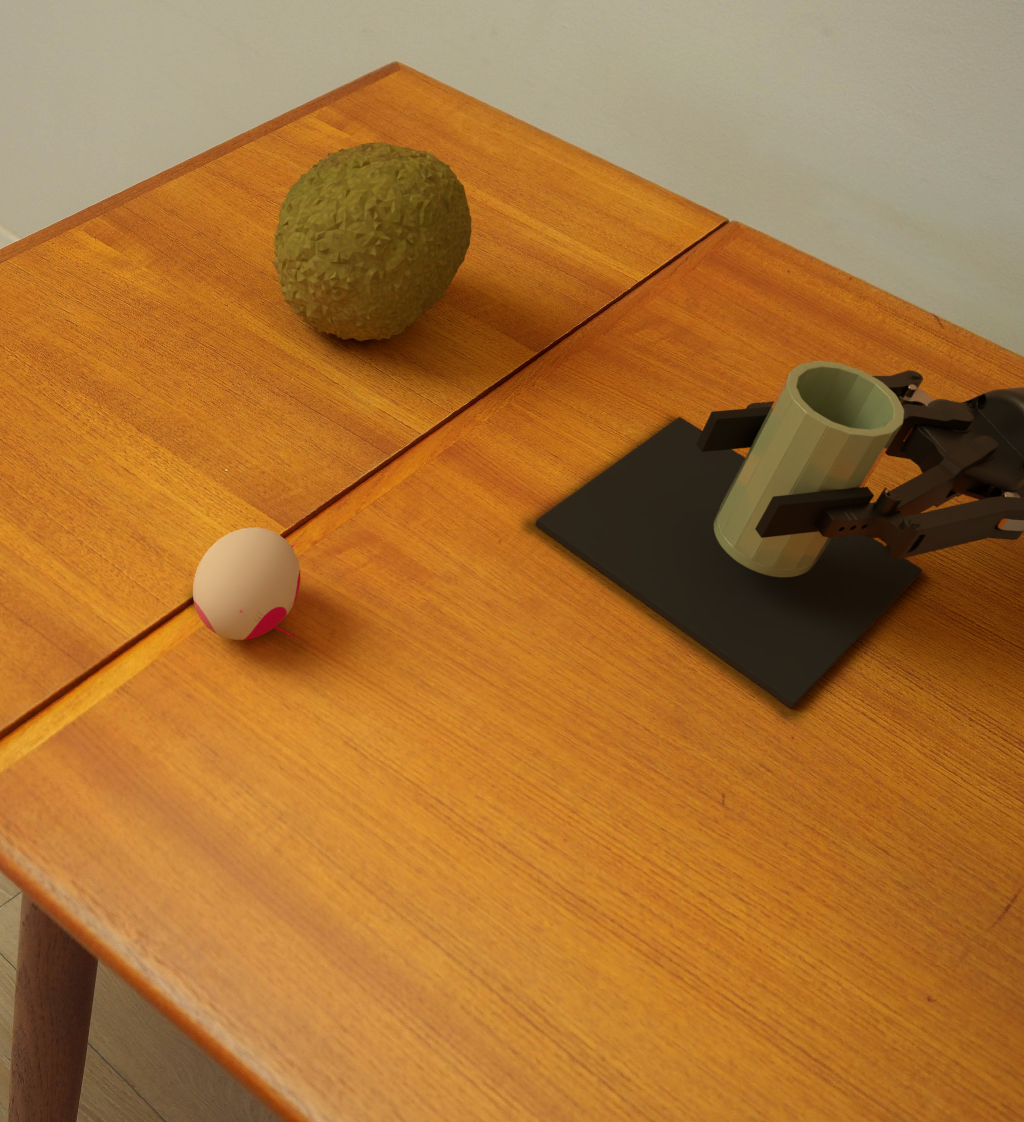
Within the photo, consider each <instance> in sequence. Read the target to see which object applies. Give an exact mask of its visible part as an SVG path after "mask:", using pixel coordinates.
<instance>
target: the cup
mask: <svg viewBox="0 0 1024 1122" xmlns="http://www.w3.org/2000/svg"><path fill="white" fill-rule="evenodd" d="M873 376H874V375H871V374H869V373H868V372H865V371H864V370H862V369H859V368H856V367H853V366H850V365H847V364H844V363H841V362H836V361H835V362H834V361H825V360H814V361H810V362H803V363H800V364H798V365H796V367H794V368H793V369H792V370H790V371H789V372H788V374H787V376H786V378H785V380H784V382H783V384H782V386H781V388H780V389H779V392H778V393H777V395H776V398H775V399H774V400H773V401H774V403H773V405H772V407H771V409H770V411H769V413H768V415H767V417H766V419H765V421H764V422H763V424H762V426H761V428H760V430H759V432H758V434H757V436H756V438H755V440H754V442H753V444H752V446H751V448H749V450H748V452H747V453H746V455H745V456H744V457H745V459H744V461H743V463H742V465H741V467H740V469H739V471H738V473H737V475H736V477H735V479H734V481H733V483H732V484H731V486H730V488H729V490H728V492H727V494H726V496H725V498H724V500H723V502H722V504H721V506H720V509H719V511H718V513H717V515H716V517H715V520H714V532H715V536H716V538H717V540H718V542H719V544H720V545H721V547H722V548H723V549H724V550H725V551H726V552H727V554H728V555H730V556H731V557H732V558H733V559H734V560H736V561H737V562H738V563H740V564H742V565H743V566H745V567H747V568H749V569H751V570H753V571H756V572H758V573H761V574H764V575H768V576H773V577H794V576H799V575H802V574H804V573H806V572H807V571H809V570H810V569H811V568H812V567H813V566H814V565H815V563H816V561H817V560H818V558H819V557H820V556H821V555H822V553H823V552H824V550H825V548H826V547H827V545H828V544H829V542H830V540H831V539H832V538H829V537H823V536H822V535H821V533H820V532H819V531H818V532H809V533H801V534H792V535H783V536H774V537H765V538H761V537H760V535H759V534H758V533H757V531H756V530H755V528H756V526H757V525H758V523H759V521H760V519H761V517H762V516H763V514H764V512H765V510H766V508H767V507H768V505H769V503H770V501H771V499H772V498H773V496H783V495H792V494H802V493H811V492H821V491H831V490H840V489H850V488H859V487H866V486H865V485H866V484H867V482H869V479H870V477H871V476H872V475H873V473H874V471H875V469H876V468H877V466H878V464H879V463H880V461H881V460H882V458H883V457H884V455H885V452H886V450H887V449H888V447H889V445H890V444H891V442H892V440H893V439H894V437H895V436H896V434H897V432H898V431H899V429H900V428H901V426H902V424H903V418H904V409H903V407H902V405H901V403H900V401H899V399H898V397H897V396H896V394H895V393H893V392H892V391H891V390H890V389H889V388H888V387H887V386H886V385H885V384H884V383H883V382H881V381H880V380H878V379H876V378H874V377H873Z"/></svg>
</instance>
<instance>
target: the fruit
mask: <svg viewBox="0 0 1024 1122" xmlns="http://www.w3.org/2000/svg"><path fill="white" fill-rule="evenodd" d="M280 208H281V210H280V211H279V213H278V215H277V216H278V223H277V225H276V230H275V233H274V234H273V235H274V240H273V246H274V248H275V249H274V250H273V253H274V255H275V258H274V259H273V260H272V261H271V262H272V265H273V266H274V268H275V269H276V272H277V275H276V278H277V280H278V281H279V283H278V284H280V291H281V294H282V296H283V301H284V302H285V303H286V304H288V305H289V306H290V308H291V310H292V312H293V314H295V315H297V316H299V317H300V318H301V322H302V323H308V324H310V326H312V327H313V328H316V329H317V331H318V333H326V334H327V335H329V334H332V335H335V336H336V337H337V338H338V339H342V340H343V341H345V340H350V339H355V340H356V341H358V342H363V341H368V340H374V339H375V340H377V341H382V340H383V339H386V340H390V339H391V338H392V336H397V335H401V334H402V333H403V332H405V330H406V329H407V328H410V327H411V326H412V325H413V324H414V323H415V322H416V321H417V320H418V319H421V317H422V316H424V315H425V313H426V312H428V311H429V310H431V309H433V307H434V306H435V305H436V304H438V303H439V302H441V301H442V300H443V299H444V298H445V297H446V292H447V290H448V288H449V286H451V284H452V281H453V279H454V278H455V276H456V274H457V273H458V271H459V268H460V267H461V266H462V264H463V263H464V261H465V259H466V255H467V253H468V250H469V247H470V245H471V237H472V216H471V210H470V207H469V204H468V199H467V194H466V191H465V186H464V184H463V183H462V182H461V180H460V179H458V176H457V174H456V173H455V172H454V170H452V169H451V165H450V164H448V163H446V162H445V161H443V160H440V159H439V158H438V157H437V156H435V154H434V153H433V152H428V151H427V150H415V149H413V148H410V147H406V146H398V145H394V144H391V143H387V142H365V143H361V144H359V145H355V146H351V147H349V148H341V149H339V150H338V151H336V152H328V153H327V156H326V157H325V158H323V159H319V160H318V161H317V163H316V164H315V163H314V164H313V165H312V167H311V168H309V169H308V171H307V173H302V174H301V173H300V177H299V178H298V179H297V180H296V182H294V183H293V184H291V186H290V187H289V191H287V194H286V195H285V200H283V201H282V202H281V205H280Z"/></svg>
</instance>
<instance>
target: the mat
mask: <svg viewBox="0 0 1024 1122" xmlns="http://www.w3.org/2000/svg"><path fill="white" fill-rule="evenodd" d="M702 431H703V429H700V428H699V427H697V426H695V425H694V424H693V423H691V422H689V421H687V420H686V419H685V418H683V417H681V416H679V417H677V418H676V419H674V420H673V421H672V422H670V423H668V424H667V425H666V426H665V427H663V428H662V429H660V430H658V431H657V432H656V433H655V434H654V435H652V436H651V437H650V438H648V439H647V440H645V441H643V442H642V443H641V444H639V445H638V446H637V447H635V448H634V449H632V451H630V452H628V453H627V454H626V455H624V456H623V457H622V458H620V459H619V460H617V461H616V462H615V463H613V464H612V465H611V466H609V467H608V468H607V469H605V470H603V471H602V472H600V473H599V474H598V475H596V476H595V477H593V478H592V479H591V480H590V481H588V482H586V483H585V484H584V485H583V486H581V487H580V488H579V489H577V490H576V491H574V492H573V493H572V494H571V495H569V496H567V497H566V498H565V499H563V500H562V501H560V502H559V503H558V504H557V505H555V506H554V507H552V508H551V509H549V510H547V512H545V513H544V514H543V515H541V516H540V517H538V518H537V519H536V521H535V523H534V525H535V527H537V528H538V529H540V531H542V532H544V533H545V534H547V535H548V536H549V537H551V538H552V539H554V540H555V541H557V543H559V544H561V545H562V546H563V547H565V548H566V549H567V550H569V551H570V552H571V553H573V554H575V555H576V556H577V557H579V558H580V559H581V560H583V561H584V562H586V563H587V564H588V565H590V566H591V567H592V568H594V569H595V570H597V571H598V572H600V573H601V574H603V575H604V576H605V577H606V578H608V579H609V580H611V581H612V582H614V583H615V584H616V585H618V587H621V588H622V589H623V590H624V591H626V592H627V593H629V594H630V595H632V596H633V597H635V598H636V599H637V600H639V601H640V602H641V603H643V604H644V605H646V606H647V607H648V608H649V609H651V610H653V611H654V612H655V613H656V614H658V615H660V616H661V617H662V618H663V619H665V620H667V622H669V623H671V624H672V625H673V626H675V627H676V628H678V629H679V630H680V631H682V632H683V633H685V634H686V635H687V636H689V637H690V638H692V639H693V640H695V641H696V642H697V643H699V644H700V645H701V646H703V647H704V648H705V649H707V650H708V651H710V652H711V653H712V654H714V655H715V656H717V657H718V658H720V659H721V660H722V661H724V662H725V663H727V664H728V665H729V666H731V667H732V668H734V669H735V670H736V671H737V672H739V673H741V675H743V676H745V677H746V678H748V679H749V680H750V681H751V682H753V683H755V684H756V685H757V686H759V687H760V688H761V689H763V690H764V691H765V692H766V693H768V694H770V695H771V696H772V697H774V698H776V699H777V700H778V701H779V702H781V703H782V704H784V705H785V706H787V707H788V708H789V709H793V708H794V707H795V706H796V705H797V704H798V703H799V702H800V700H802V699H803V698H804V696H805V695H806V694H808V692H809V691H810V690H811V689H812V688H813V687H814V686H815V685H816V684H817V683H818V682H819V681H820V680H821V679H822V677H824V676H825V674H826V673H827V672H828V671H830V669H831V668H832V667H833V666H834V665H835V664H836V663H837V662H838V661H839V660H840V659H841V658H842V656H844V655H845V653H846V652H847V651H848V650H849V649H851V647H852V646H853V645H855V643H856V642H857V641H858V640H859V639H860V638H861V637H862V636H863V635H864V634H865V632H866V631H867V630H868V629H869V628H870V627H871V626H873V624H874V623H875V622H876V621H877V620H878V619H879V618H880V617H881V616H882V615H883V614H884V613H885V612H886V611H887V609H889V607H891V605H892V604H893V603H894V602H896V600H897V599H898V598H899V597H900V596H901V594H903V593H904V592H905V591H906V589H907V588H908V587H910V585H911V584H912V583H913V582H914V581H915V580H916V579H917V578H918V577H919V576H920V575H921V573H922V572H923V569H922V568H921V567H919V566H918V565H917V564H915V563H913V562H911V561H910V560H908V559H907V558H902V559H897V558H893V557H891V556H890V555H889V554H887V552H886V551H885V547H886V545H885V544H883V543H881V542H880V541H878V540H876V538H869V537H867V536H865V535H863V534H862V535H854V536H845V537H836V538H832V539H831V540H830V542H829V544H828V545H827V547H826V548H825V550H824V552H823V553H822V555H821V556H820V557H819V558H818V560H817V561H816V563H815V565H814V566H813V567H812V568H811V569H810V570H809V571H807V572H806V573H804V574H802V575H799V576H794V577H773V576H768V575H764V574H761V573H758V572H756V571H753V570H751V569H749V568H747V567H745V566H743V565H742V564H740V563H738V562H737V561H736V560H734V559H733V558H732V557H731V556H730V555H728V554H727V552H726V551H725V550H724V549H723V548H722V547H721V545H720V544H719V542H718V540H717V538H716V536H715V532H714V520H715V517H716V515H717V513H718V511H719V509H720V506H721V504H722V502H723V500H724V498H725V496H726V494H727V492H728V490H729V488H730V486H731V484H732V483H733V481H734V479H735V477H736V475H737V473H738V471H739V469H740V467H741V465H742V463H743V461H744V459H745V457H746V456H743V455H741V454H740V453H738V452H737V451H735V449H729V450H718V451H707V452H701V450H700V449H699V448H698V446H697V445H696V443H697V441H698V439H699V437H700V435H701V433H702Z"/></svg>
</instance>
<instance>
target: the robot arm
mask: <svg viewBox="0 0 1024 1122" xmlns="http://www.w3.org/2000/svg"><path fill="white" fill-rule="evenodd" d="M872 376H873V377H874V378H876V379H878V380H880V381H881V382H883V383H884V384H885V385H886V386H887V387H888V388H889V389H890V390H891V391H892V392H893V393H895V394H896V396H897V397H898V399H899V401H900V403H901V405H902V407H903V409H904V418H903V424H902V426H901V428H900V429H899V431H898V432H897V434H896V436H895V437H894V439H893V440H892V442H891V444H890V445H889V447H888V449H887V450H886V452H885V453H884V455H886V456H889V457H893V458H900V459H906V460H911V462H913V463H914V464H915V465H917V466H918V468H919V469H920V471H921V473H920V474H919V475H916V476H915V477H913V478H911V479H909V480H907V481H905V482H904V483H902V484H900V485H898V486H896V487H894V488H892V489H891V490H890V489H889V490H888V491H887V489H888V488H887V487H884V488H883V490H882V491H881V492H880V494H879V496H878V497H877V499H876V500H875V501H874V502H873V501H872V500H873V498H874V497H875V494H874V493H873V492H872V491H871V489H870V488H869V486H864V487H859V488H850V489H840V490H831V491H821V492H811V493H802V494H792V495H783V496H773V498H772V499H771V501H770V503H769V505H768V507H767V508H766V510H765V512H764V514H763V516H762V517H761V519H760V521H759V523H758V525H757V526H756V528H755V530H756V531H757V533H758V534H759V535H760V537H761V538H765V537H774V536H783V535H792V534H801V533H809V532H818V531H819V532H820V533H821V535H822V536H823V537H829V538H836V537H845V536H854V535H862V534H863V535H865V536H867V537H869V538H873V539H879V540H880V541H881V542H883V543H884V544H885V546H886V547H885V551H886V552H887V554H889V555H890V556H891V557H893V558H897V559H902V558H905V559H907V558H910V557H911V558H912V557H915V556H918V555H922V554H927V553H931V552H936V551H939V550H944V549H948V548H952V547H956V546H960V545H964V544H968V543H973V542H977V541H982V540H985V539H986V540H987V539H994V540H1009V541H1017V540H1018V539H1020V537H1021V536H1022V535H1023V533H1024V386H1021V387H1010V388H1009V387H1008V388H998V389H997V388H996V389H992V390H988V391H986V392H983V393H981V394H978V395H977V396H975V397H972V398H971V399H968V400H965V401H955V400H950V399H947V398H937V399H934V398H932V397H931V396H930V395H928V394H927V393H926V392H925V391H923V389H921V388H920V387H921V384H922V383H923V381H924V376H923V375H922V374H921V373H919V372H918V371H915V370H911V369H910V370H909V369H908V370H904V371H902V372H899V373H895V374H892V375H872ZM774 401H775V400H772V401H761V402H752V403H750V404H747V405H746V407H745V408H738V409H726V410H714V411H713V410H712V411H711V412H710V414H709V416H708V418H707V420H706V422H705V425H704V427H703V429H702V433H701V435H700V437H699V439H698V441H697V443H696V445H697V446H698V448H699V449H700V450H701V452H707V451H718V450H729V449H732V450H739V449H750V448H751V446H752V444H753V442H754V440H755V438H756V436H757V434H758V432H759V430H760V428H761V426H762V424H763V422H764V421H765V419H766V417H767V415H768V413H769V411H770V409H771V407H772V405H773V403H774ZM961 496H966V497H969V498H972V499H975V500H973V501H968V502H964V503H960V504H955V505H951V506H946V507H942V508H938V507H940V506H942V505H944V504H946V503H947V502H949V501H950V500H953V499H954V498H959V497H961ZM871 501H872V502H871ZM932 507H934V508H936V509H933V510H929V509H930V508H932ZM937 508H938V509H937ZM927 510H928V511H927Z"/></svg>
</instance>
